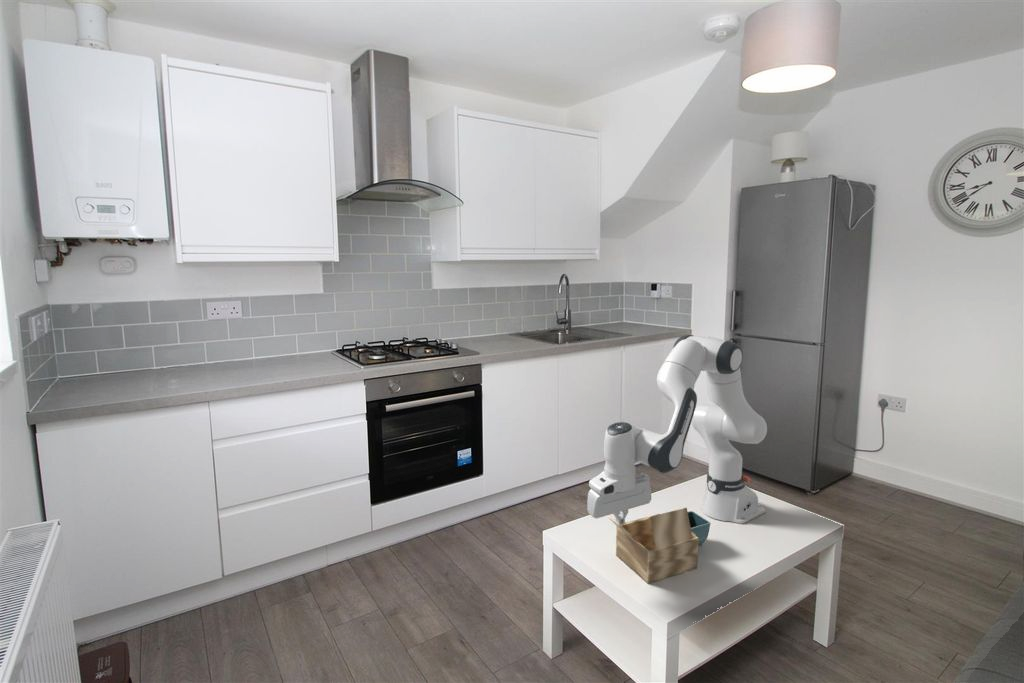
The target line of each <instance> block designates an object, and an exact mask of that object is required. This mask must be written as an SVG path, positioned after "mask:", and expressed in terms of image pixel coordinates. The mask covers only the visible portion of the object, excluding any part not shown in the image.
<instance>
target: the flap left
mask: <svg viewBox="0 0 1024 683" xmlns="http://www.w3.org/2000/svg"><path fill="white" fill-rule="evenodd" d="M688 512H689V511H688V508H687V507H682V508H679V509H675V510H672V511H667V512H664V513H658V514H659V515H656V514H654V515H655V516H653V515H650V516H651V517H650V518H651V524H652V529H653V534H654V540H655V545H656V549H660V548H663V547H667V546H670V545H674V544H677V543H681V542H684V541H687V540H691V539H693V537H692V532H691V527H690V522H689V517H688Z"/></svg>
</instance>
